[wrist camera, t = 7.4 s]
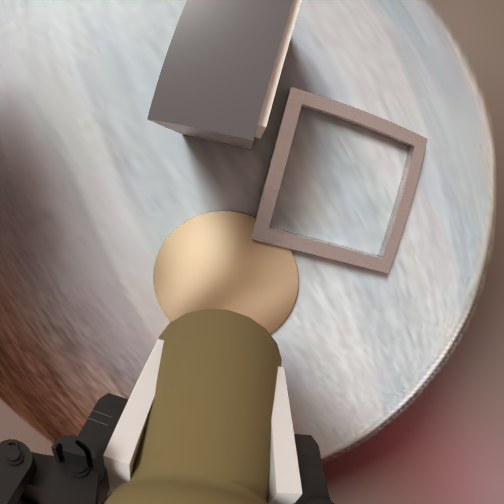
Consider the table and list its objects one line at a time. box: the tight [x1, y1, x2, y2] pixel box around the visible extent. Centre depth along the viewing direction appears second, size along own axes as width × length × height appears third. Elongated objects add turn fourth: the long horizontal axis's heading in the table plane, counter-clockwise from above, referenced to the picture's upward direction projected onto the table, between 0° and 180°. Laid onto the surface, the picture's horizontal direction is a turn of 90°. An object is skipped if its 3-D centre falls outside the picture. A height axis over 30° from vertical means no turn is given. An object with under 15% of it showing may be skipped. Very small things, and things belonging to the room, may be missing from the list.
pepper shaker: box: [102, 309, 281, 504], centre depth 9 cm, size 6×6×11 cm
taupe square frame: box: [251, 87, 427, 274], centre depth 21 cm, size 11×11×1 cm
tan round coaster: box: [153, 211, 298, 334], centre depth 23 cm, size 11×11×1 cm
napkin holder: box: [148, 0, 302, 149], centre depth 16 cm, size 5×10×8 cm, turn 166°
